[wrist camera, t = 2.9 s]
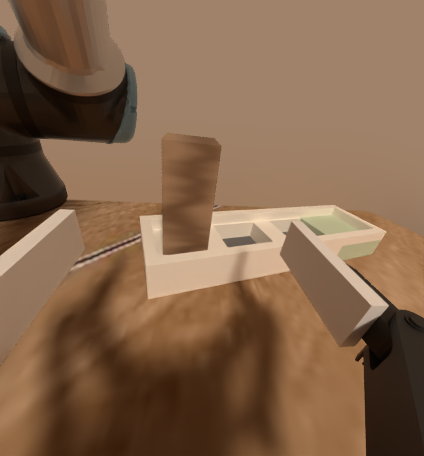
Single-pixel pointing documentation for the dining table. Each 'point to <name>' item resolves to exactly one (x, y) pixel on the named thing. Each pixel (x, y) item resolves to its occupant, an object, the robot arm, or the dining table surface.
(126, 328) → the dining table surface
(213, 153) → the walnut block
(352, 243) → the tray
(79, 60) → the robot arm
